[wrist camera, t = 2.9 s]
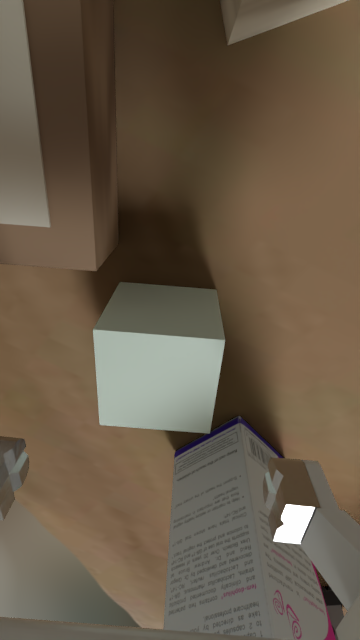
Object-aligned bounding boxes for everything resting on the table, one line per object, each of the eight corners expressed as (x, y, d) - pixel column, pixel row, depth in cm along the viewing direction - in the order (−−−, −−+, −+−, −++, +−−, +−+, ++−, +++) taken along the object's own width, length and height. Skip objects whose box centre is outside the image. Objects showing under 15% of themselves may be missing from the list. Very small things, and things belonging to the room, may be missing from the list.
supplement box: (170, 452, 22) (152, 705, 12) (239, 412, 20) (287, 676, 10) (221, 492, 24) (242, 739, 14) (288, 460, 22) (369, 721, 12)
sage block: (120, 281, 16) (92, 329, 12) (216, 288, 16) (225, 340, 12) (121, 360, 19) (99, 424, 14) (205, 366, 19) (209, 433, 14)
